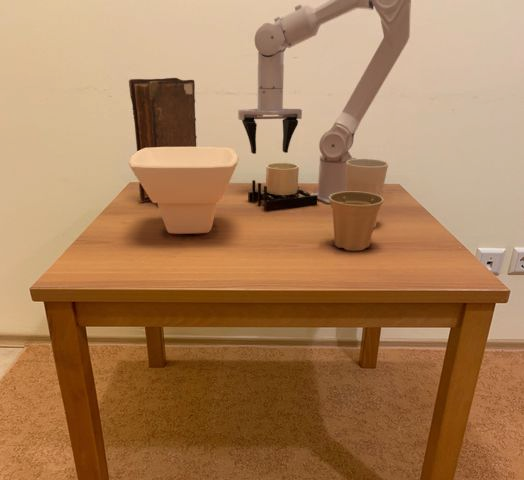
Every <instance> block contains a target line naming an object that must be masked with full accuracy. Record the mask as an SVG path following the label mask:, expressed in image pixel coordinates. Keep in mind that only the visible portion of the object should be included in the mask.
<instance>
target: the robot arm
mask: <svg viewBox="0 0 524 480" xmlns="http://www.w3.org/2000/svg"><path fill="white" fill-rule="evenodd" d="M411 8H412V0H328V1H326V2H324V3H322V4H320V5H319V6H316V7H313V6H310V5H309V4H305V5H302V4H298V5H296V6H294V11H292V12H290V13H288V14H286V15H284V16H282V17H280V16H277V17H274V23H271V22H265V23H263V24H262V25H261V26H260V27H259V28H258V29H257V30H256V32H255V35H254V46H255V48H256V50H257V51H258V52H257V108H249V109H248V108H247V109H238V110H237V119H238V120H239V121H241V122H242V125H243V127H244V129H245V132H246V134H247V135H246V136H247V137H248V142H249V146H250V153H251V154H253V155H255V154H257V126H258V123H256V120H282V152H283V153H284V154H287V153H288V152H289V148H290V143H291V141H292V137H293V135H294V133H295V131H296V128H297V127H298V124H299V120H302V115H303V109H301V108H284V75H285V73H284V72H285V64H284V61H285V60H284V59H285V58H284V57H285V51H286V50H287V49H291V48H292V47H295V46H296V45H299V44H301V43H303V42H305V41H307V40H309V39H312V38H314V37H315V36H317V34H318V32H319V29H320V28H321V26H322V25H324V24H326V23H328V22H330V21H333V20H335V19H337V18H339V17H342V16H343V15H346V14H349V13H351V12H354V11H356V10H367V11H374V9H375V12H376V13H377V14H378V16H379V18H380V24H381V29H382V33H383V38H382V40H381V41H380V43H379V45H378V47H377V48H376V50H375V52H374V54H373V56H372V58H371V59H370V61H369V63H368V65H367V66H366V69H365V70H364V72H363V73H362V76H361V77H360V79H359V81H358V82H357V85H356V86H355V88H354V90H353V92H352V93H351V94H350V97H349V99H348V101H347V102H346V103H345V106H343V107H344V108H343V109H342V111H341V113H340V114H339V115H338V117H337V118H336V119H335V122H334V123H333V124H332V126H331V128H330V129H329V130H327V131H325V132H324V133H323V135H321V137H320V140H319V144H318V148H319V151H320V153H321V155H320V156H319V164H318V178H317V179H318V180H317V181H318V182H317V192H312V193H309V194H310V195H318V198H317V200H319V201H321V202H323V203H326V204H331V201H330V200H329V196H330V195H331V194H333V193H337V192H344V191H346V161H348V160H352V159H357V158H356V157H352V155H351V153H350V152H349V151H350V149H351V148H352V147H353V144H354V137H355V133H356V132H357V130H358V128H359V126H360V125H361V122H362V120H363V119H364V117H365V115H366V114H367V112H368V110H369V109H370V106H371V105H372V104H373V102H374V100H375V98H376V97H377V95H378V93H379V91H380V89H381V88H382V87H383V85H384V83H385V81H386V80H387V78H388V76H389V75H390V73H391V71H392V70H393V68H394V66H395V64H396V62H397V61H398V59H399V58H400V56H401V55H402V53H403V50H404V49H405V47H406V46H407V44H408V42H409V40H410V36H411V11H412V10H411Z"/></svg>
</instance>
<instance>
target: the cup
mask: <svg viewBox="0 0 524 480" xmlns="http://www.w3.org/2000/svg"><path fill="white" fill-rule="evenodd" d="M388 167H389V162H387V161H384V160H381V159H374V158H356V159H352V160H348V161H346V191H360V192H369V193H373V194H377V195H379V196H381V197H383V191H384V186H385V181H386V177H387V171H388ZM378 215H379V211H378V212H377V216H376V220H375V224H374V228H376V227H377V224H378V223H377V221H378V217H379V216H378Z"/></svg>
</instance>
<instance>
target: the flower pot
mask: <svg viewBox="0 0 524 480" xmlns="http://www.w3.org/2000/svg"><path fill="white" fill-rule="evenodd" d="M329 200H330V201H331V203H330V207H331V209H332V219H333V237H334V238H333V239H334V245H335V246H336V247H337V248H338V249H341V248H342V249H344V250H345V251H350V252H353V251H356V252H357V251H363V250H365V249H366V248H370V244H371V240H372V235H373V231H374V228H375V227H374V224H375V220H376V216H377V212H378V213H379V211H380V210H381V206H382V204H383V203H384V201H385V199H384V197H383V196H382V197H381V196H379V195H377V194H373V193H369V192H360V191H344V192H337V193H333V194H331V195H330V196H329ZM377 217H378V216H377Z"/></svg>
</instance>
